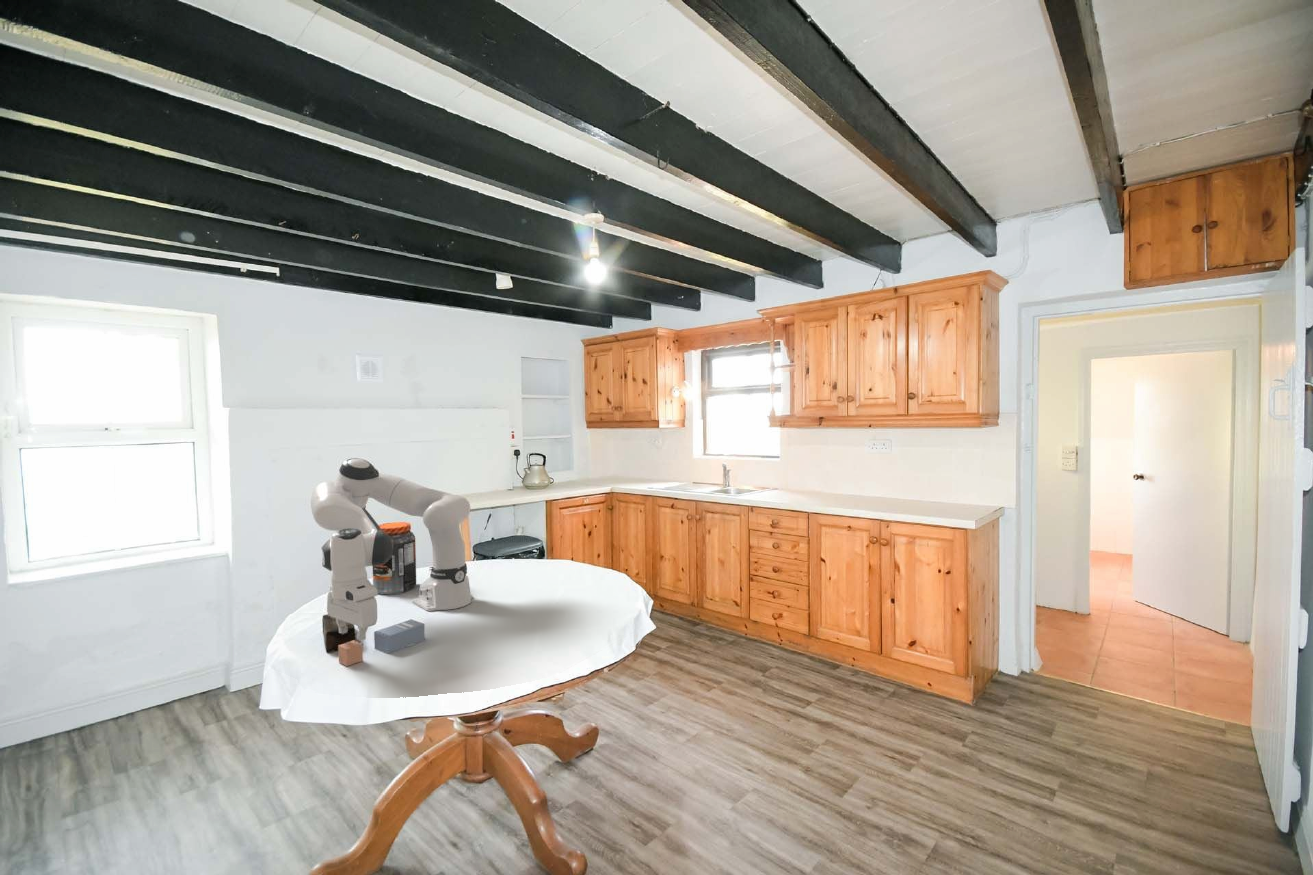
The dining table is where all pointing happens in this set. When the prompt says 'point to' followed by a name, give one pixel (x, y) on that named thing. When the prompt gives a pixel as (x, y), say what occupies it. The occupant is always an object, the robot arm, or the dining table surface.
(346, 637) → the beverage carton
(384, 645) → the double-striped slate block
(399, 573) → the supplement tub
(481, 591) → the dining table surface
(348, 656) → the stub
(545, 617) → the dining table surface
